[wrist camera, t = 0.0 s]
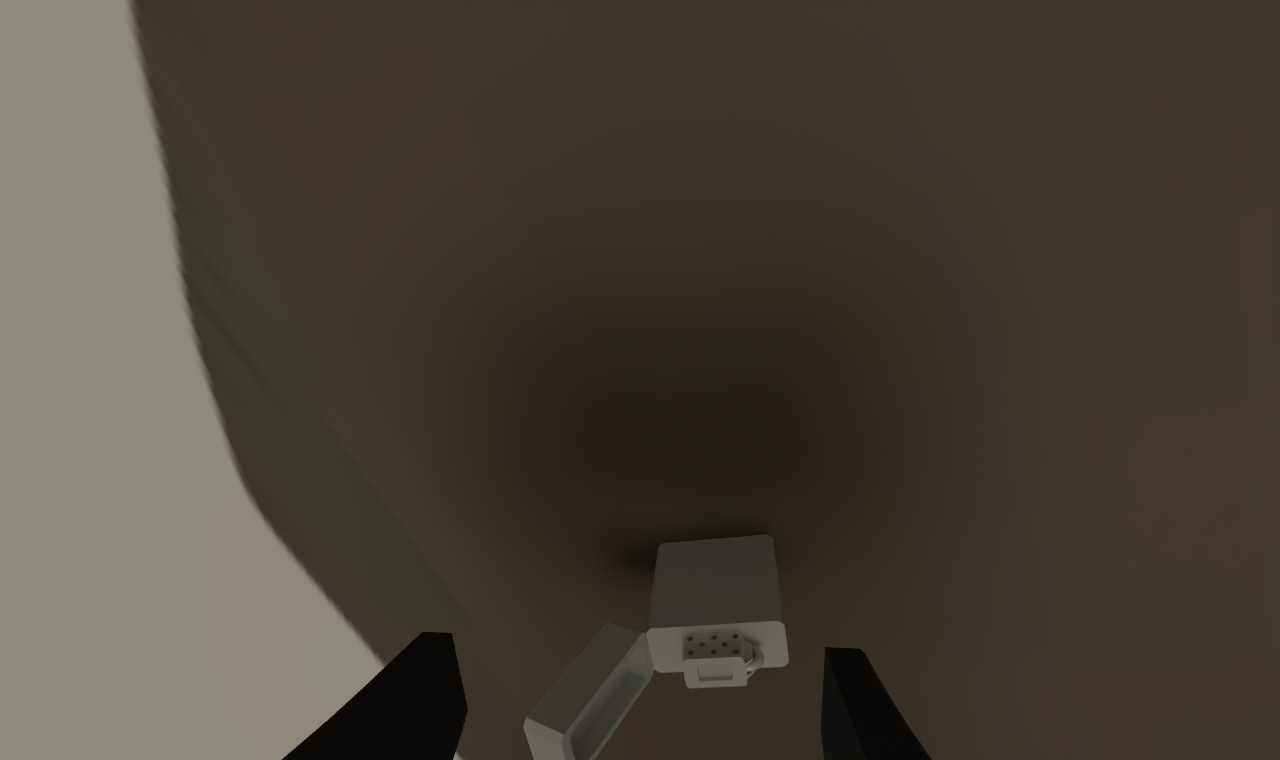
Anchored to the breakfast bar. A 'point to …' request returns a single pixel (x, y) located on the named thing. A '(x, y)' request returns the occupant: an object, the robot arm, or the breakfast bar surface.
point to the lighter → (669, 642)
